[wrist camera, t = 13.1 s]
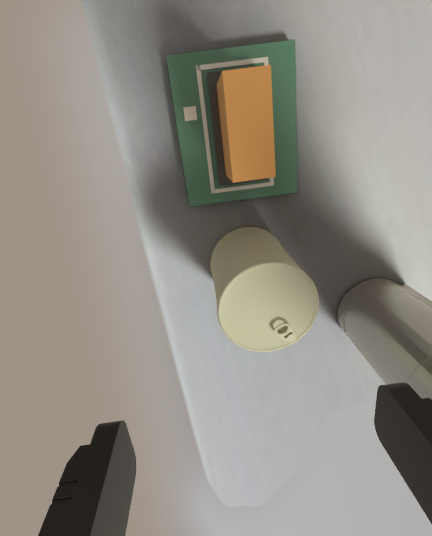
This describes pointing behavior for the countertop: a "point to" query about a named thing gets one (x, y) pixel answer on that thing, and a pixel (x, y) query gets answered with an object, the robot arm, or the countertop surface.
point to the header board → (195, 129)
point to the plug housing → (247, 123)
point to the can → (261, 291)
